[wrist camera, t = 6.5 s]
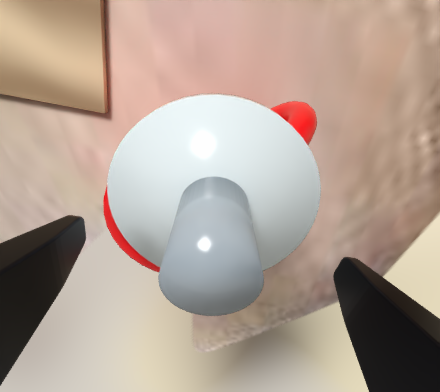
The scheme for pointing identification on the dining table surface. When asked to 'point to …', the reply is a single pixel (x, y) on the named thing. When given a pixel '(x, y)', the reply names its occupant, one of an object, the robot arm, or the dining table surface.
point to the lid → (213, 197)
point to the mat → (54, 52)
